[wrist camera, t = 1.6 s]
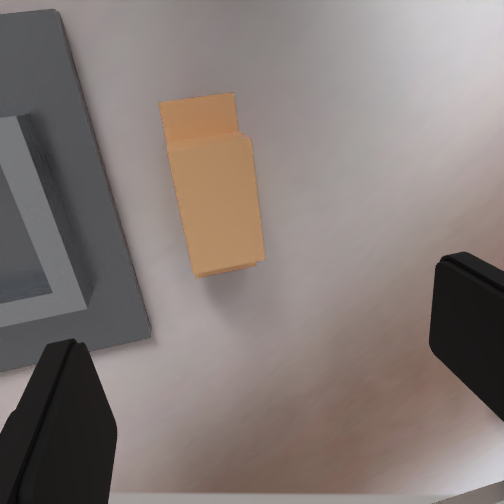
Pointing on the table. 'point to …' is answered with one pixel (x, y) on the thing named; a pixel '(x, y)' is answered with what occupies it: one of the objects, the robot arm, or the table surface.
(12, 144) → the pocket plate
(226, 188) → the tabbed block
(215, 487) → the table surface
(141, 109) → the table surface
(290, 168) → the table surface
